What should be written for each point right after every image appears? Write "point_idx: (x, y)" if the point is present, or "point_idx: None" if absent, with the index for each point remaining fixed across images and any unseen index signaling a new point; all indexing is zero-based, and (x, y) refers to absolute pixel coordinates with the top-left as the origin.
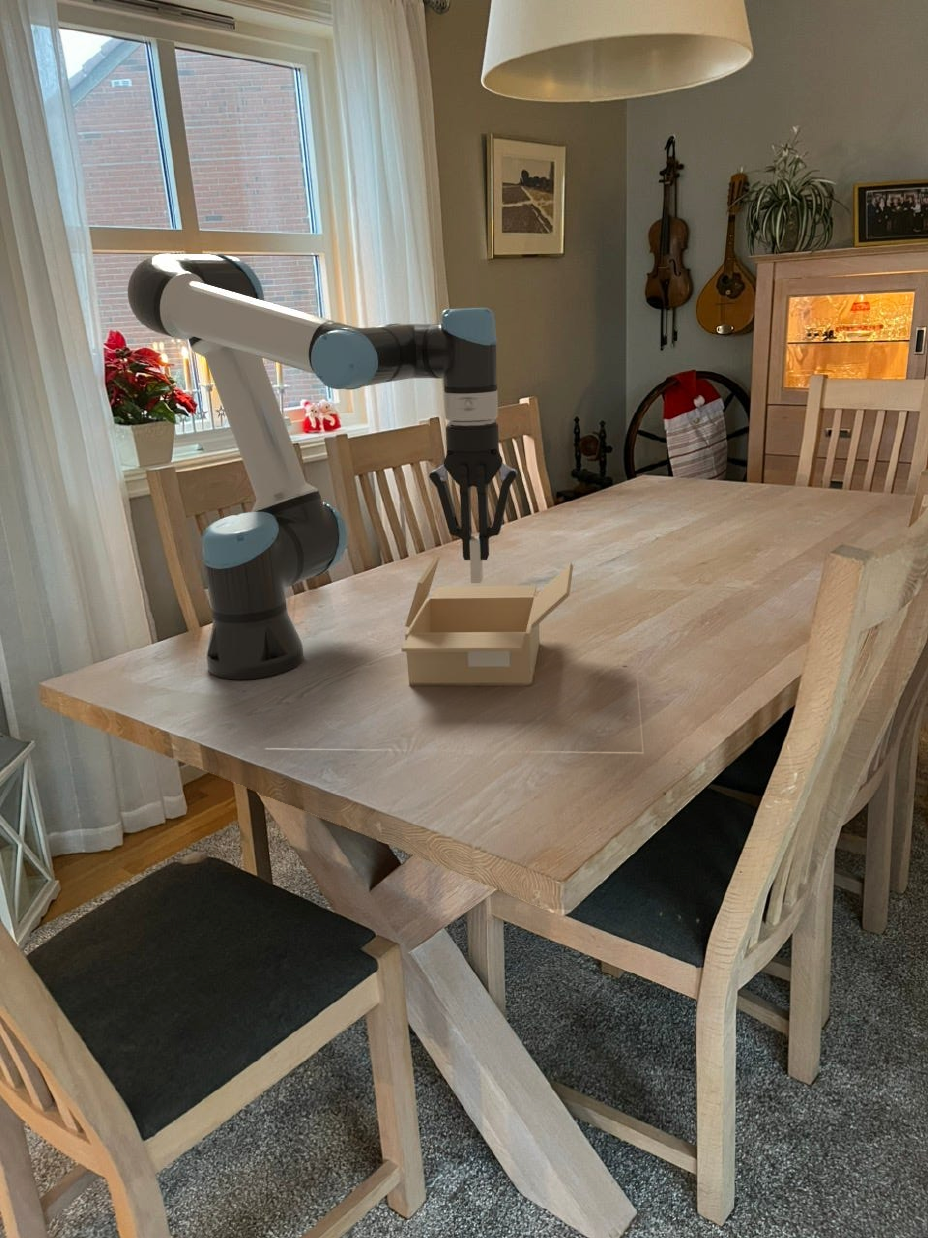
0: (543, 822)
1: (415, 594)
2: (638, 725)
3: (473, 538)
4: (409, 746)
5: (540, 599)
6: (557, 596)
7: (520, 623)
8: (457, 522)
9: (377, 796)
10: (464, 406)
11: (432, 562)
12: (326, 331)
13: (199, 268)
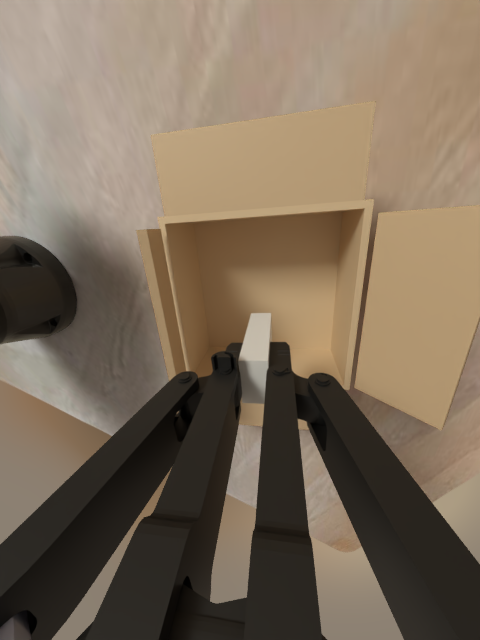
0: (340, 522)
1: None
2: (433, 430)
3: (248, 382)
4: (241, 446)
5: (380, 289)
6: (419, 392)
7: (324, 212)
8: (186, 399)
9: (240, 492)
10: None
11: (155, 305)
12: None
13: None
